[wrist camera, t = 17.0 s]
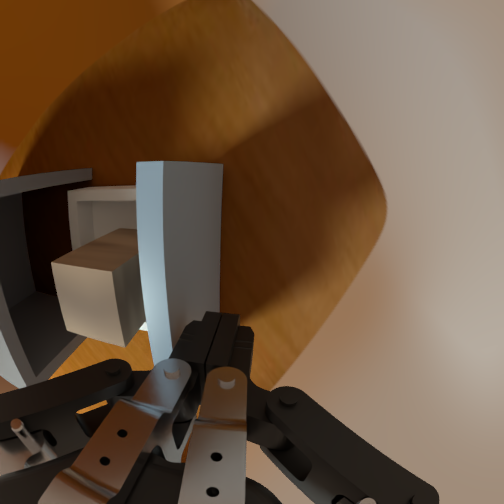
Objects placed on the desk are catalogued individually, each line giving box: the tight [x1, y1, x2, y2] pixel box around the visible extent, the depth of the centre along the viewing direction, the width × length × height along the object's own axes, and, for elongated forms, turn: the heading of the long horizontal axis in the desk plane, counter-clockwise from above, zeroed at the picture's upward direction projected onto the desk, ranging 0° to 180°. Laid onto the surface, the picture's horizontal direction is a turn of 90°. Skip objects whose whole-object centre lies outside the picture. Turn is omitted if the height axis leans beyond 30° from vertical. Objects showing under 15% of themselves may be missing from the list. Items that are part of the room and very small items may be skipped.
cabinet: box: [0, 168, 92, 389], centre depth 16 cm, size 14×12×12 cm
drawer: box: [68, 161, 223, 366], centre depth 16 cm, size 14×12×11 cm
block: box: [51, 228, 146, 347], centre depth 16 cm, size 4×4×8 cm
